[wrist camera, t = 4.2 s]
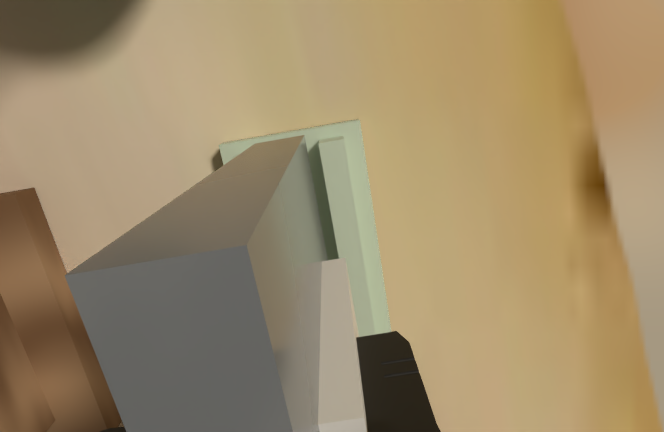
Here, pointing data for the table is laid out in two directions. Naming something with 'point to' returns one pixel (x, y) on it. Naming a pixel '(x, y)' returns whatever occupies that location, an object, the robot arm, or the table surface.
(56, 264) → the rack
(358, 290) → the stand
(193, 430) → the thick grey slab
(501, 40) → the table surface
